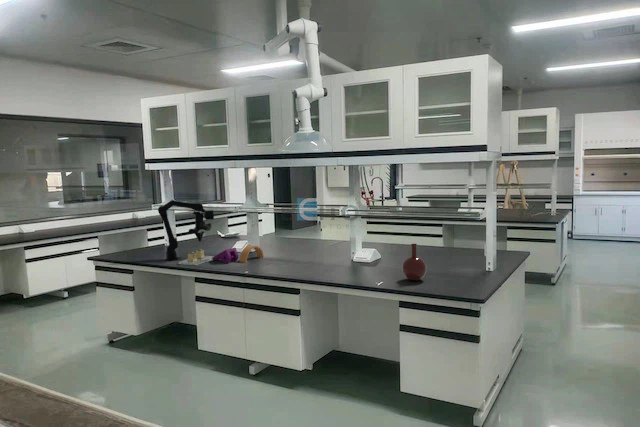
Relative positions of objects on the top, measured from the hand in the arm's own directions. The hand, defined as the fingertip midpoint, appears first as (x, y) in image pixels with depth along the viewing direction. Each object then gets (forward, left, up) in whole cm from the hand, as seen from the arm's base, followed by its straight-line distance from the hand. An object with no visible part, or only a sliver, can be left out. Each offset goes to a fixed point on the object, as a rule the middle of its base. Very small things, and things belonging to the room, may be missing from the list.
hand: (200, 241), depth 345 cm
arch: (+43, 0, -12) cm, 44 cm away
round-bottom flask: (+161, -34, -12) cm, 165 cm away
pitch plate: (+7, -14, -12) cm, 19 cm away
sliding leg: (+7, -11, -10) cm, 16 cm away
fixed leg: (+7, -20, -10) cm, 23 cm away
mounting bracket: (+26, -10, -12) cm, 30 cm away
